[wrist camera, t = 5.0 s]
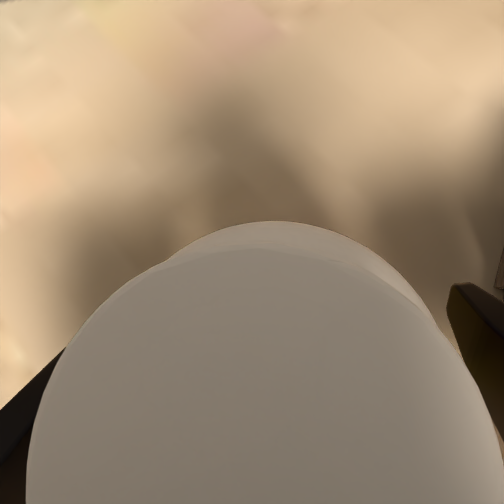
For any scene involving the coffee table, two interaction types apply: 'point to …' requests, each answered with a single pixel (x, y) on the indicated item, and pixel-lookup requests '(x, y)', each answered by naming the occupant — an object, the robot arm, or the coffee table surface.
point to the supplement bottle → (264, 385)
